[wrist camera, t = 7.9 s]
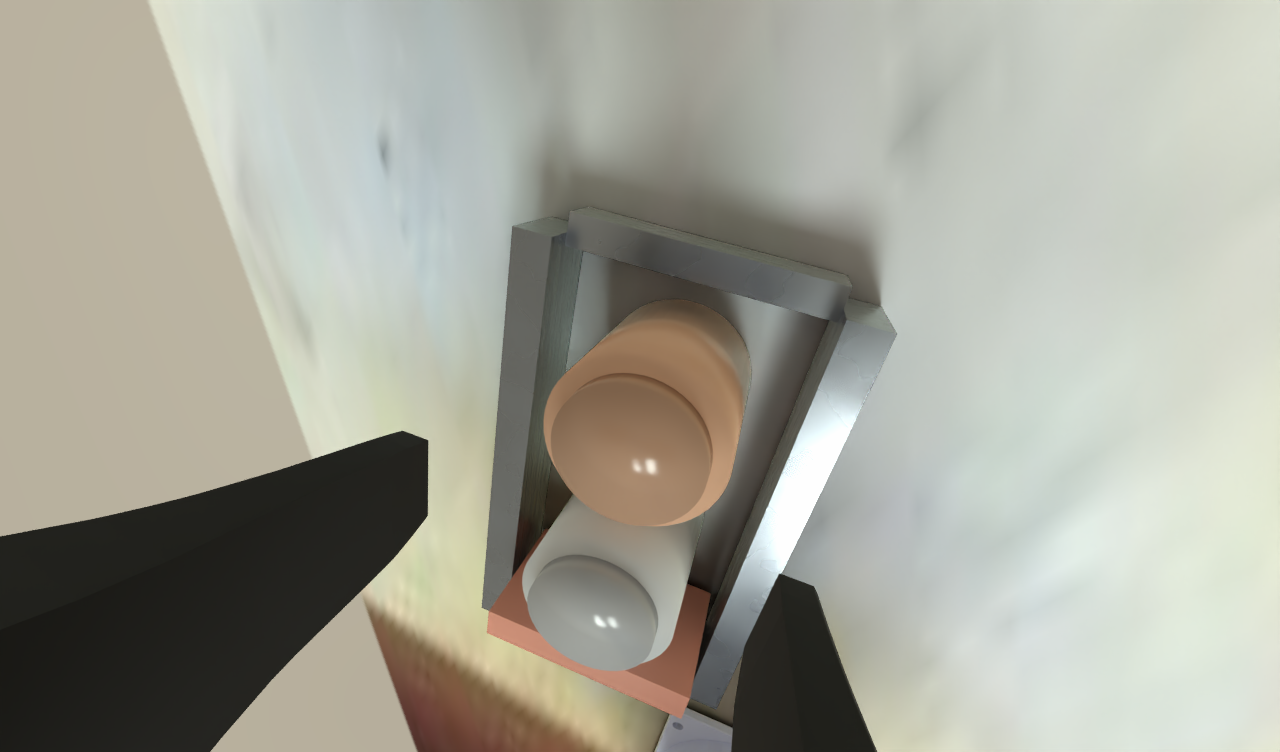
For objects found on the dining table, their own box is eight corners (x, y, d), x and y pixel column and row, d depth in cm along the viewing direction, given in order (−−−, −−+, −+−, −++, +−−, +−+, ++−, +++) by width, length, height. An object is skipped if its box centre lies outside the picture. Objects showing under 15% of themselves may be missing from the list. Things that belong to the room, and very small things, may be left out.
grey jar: (686, 571, 20) (649, 705, 15) (575, 528, 21) (506, 641, 16) (719, 477, 18) (689, 598, 13) (593, 433, 19) (520, 531, 14)
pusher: (698, 625, 21) (675, 732, 17) (540, 561, 22) (485, 647, 18) (711, 593, 20) (690, 698, 16) (545, 528, 21) (489, 611, 17)
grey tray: (724, 652, 21) (716, 709, 19) (511, 565, 23) (481, 607, 21) (890, 286, 14) (908, 310, 11) (554, 197, 15) (513, 203, 13)
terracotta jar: (733, 449, 17) (708, 565, 12) (601, 414, 18) (529, 508, 13) (767, 316, 15) (753, 393, 10) (615, 285, 16) (535, 340, 11)
